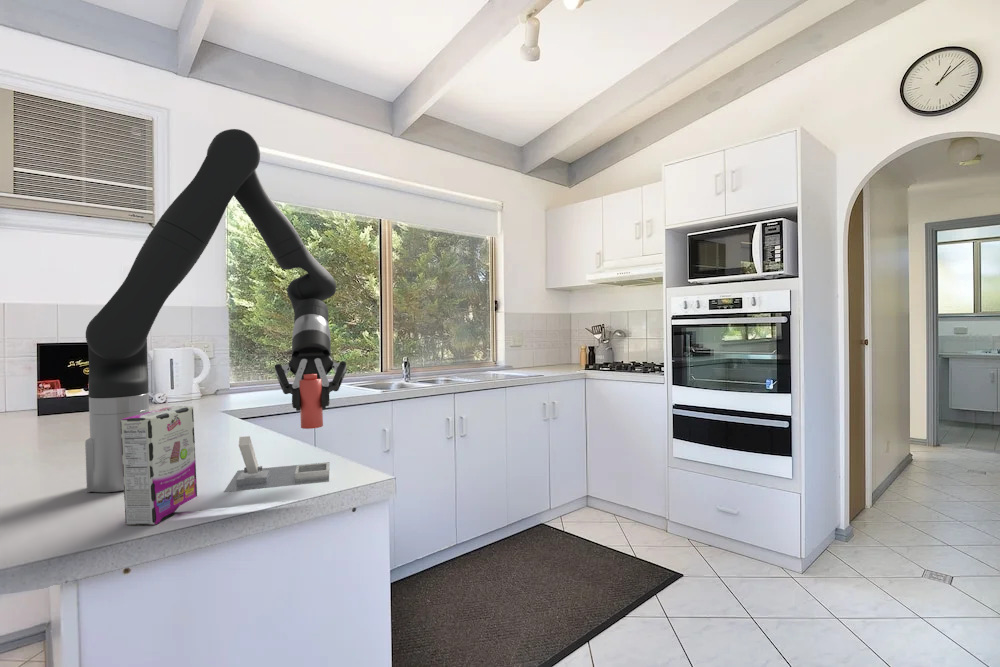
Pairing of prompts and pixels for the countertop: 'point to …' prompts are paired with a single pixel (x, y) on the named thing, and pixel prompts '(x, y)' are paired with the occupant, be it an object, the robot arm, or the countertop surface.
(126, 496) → the candy bar box
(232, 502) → the countertop surface
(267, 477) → the panel
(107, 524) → the countertop surface
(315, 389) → the red cylindrical peg
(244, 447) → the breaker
